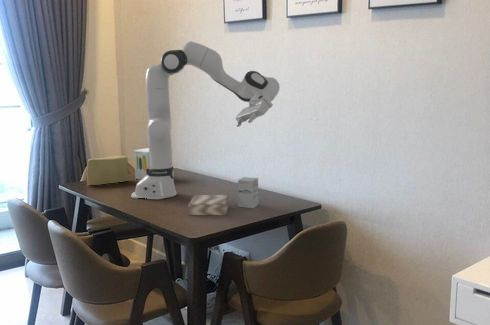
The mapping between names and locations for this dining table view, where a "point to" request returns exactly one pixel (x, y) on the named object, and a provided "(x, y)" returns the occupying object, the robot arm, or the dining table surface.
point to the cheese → (107, 170)
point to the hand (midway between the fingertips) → (243, 123)
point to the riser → (208, 205)
